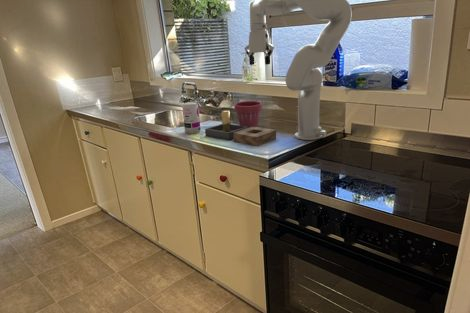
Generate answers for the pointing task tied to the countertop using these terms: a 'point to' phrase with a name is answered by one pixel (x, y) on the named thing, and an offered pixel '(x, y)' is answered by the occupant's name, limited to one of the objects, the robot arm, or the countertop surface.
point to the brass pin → (226, 121)
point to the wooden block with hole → (254, 135)
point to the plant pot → (248, 113)
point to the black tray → (219, 133)
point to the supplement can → (191, 117)
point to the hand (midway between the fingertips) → (259, 64)
